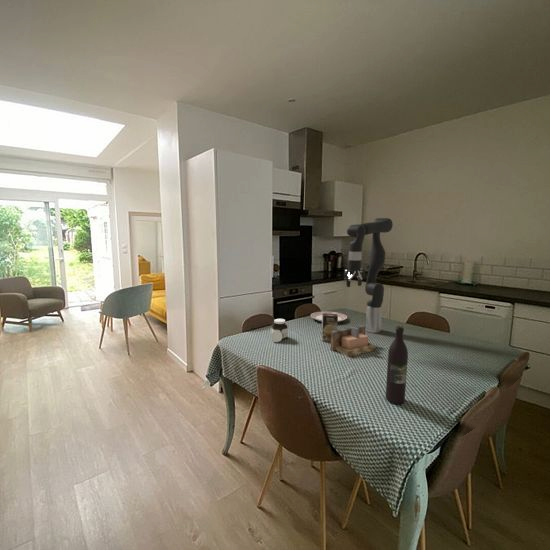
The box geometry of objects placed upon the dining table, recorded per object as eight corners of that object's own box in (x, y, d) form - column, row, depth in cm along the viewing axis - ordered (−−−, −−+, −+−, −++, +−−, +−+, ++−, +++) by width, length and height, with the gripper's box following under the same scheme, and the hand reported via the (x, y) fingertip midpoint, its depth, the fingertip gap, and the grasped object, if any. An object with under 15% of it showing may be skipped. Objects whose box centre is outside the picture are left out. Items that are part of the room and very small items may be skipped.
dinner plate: (309, 314, 240) (309, 310, 239) (343, 314, 239) (343, 310, 238) (312, 325, 213) (312, 320, 212) (350, 325, 212) (350, 321, 211)
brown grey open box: (361, 342, 178) (362, 324, 177) (377, 349, 168) (378, 331, 166) (330, 349, 167) (330, 331, 166) (344, 357, 157) (345, 337, 155)
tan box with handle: (360, 346, 173) (361, 324, 171) (367, 349, 168) (368, 327, 166) (341, 350, 167) (342, 328, 165) (348, 354, 162) (349, 331, 160)
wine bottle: (385, 402, 115) (390, 329, 111) (385, 393, 122) (390, 323, 118) (405, 406, 113) (410, 331, 109) (404, 397, 119) (409, 325, 115)
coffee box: (321, 341, 180) (322, 315, 178) (321, 337, 186) (321, 313, 184) (337, 342, 179) (337, 316, 177) (335, 338, 185) (336, 313, 183)
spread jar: (284, 335, 190) (285, 317, 189) (291, 341, 180) (291, 322, 178) (267, 337, 187) (267, 319, 185) (272, 343, 176) (272, 324, 174)
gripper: (359, 258, 180) (358, 284, 182) (341, 259, 173) (340, 286, 176) (368, 259, 173) (367, 286, 176) (350, 260, 167) (349, 288, 169)
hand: (353, 286), depth 176 cm, fingers open, 8 cm apart
